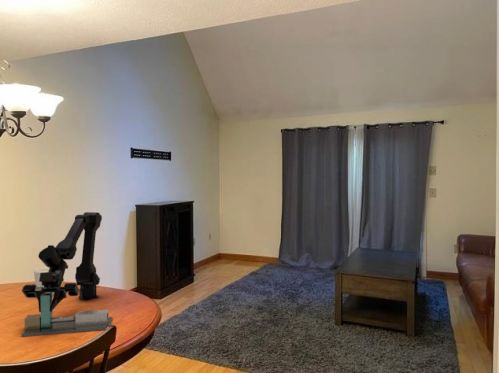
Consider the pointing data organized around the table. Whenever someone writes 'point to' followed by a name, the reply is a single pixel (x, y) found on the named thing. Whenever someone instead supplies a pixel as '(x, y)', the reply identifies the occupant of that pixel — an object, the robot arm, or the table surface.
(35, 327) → the sleeve and socket
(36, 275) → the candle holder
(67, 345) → the table surface
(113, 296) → the table surface
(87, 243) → the robot arm
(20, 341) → the table surface
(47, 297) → the sliding bolt with handle
